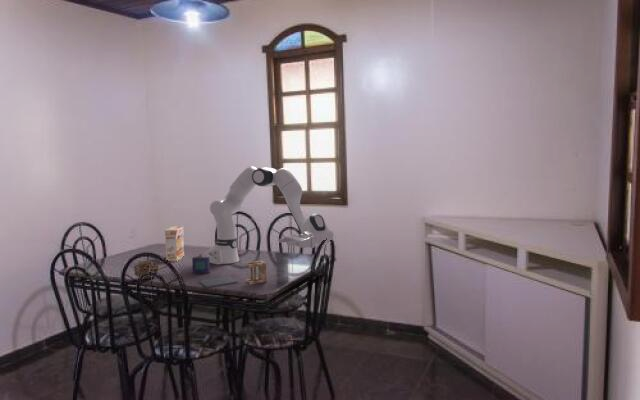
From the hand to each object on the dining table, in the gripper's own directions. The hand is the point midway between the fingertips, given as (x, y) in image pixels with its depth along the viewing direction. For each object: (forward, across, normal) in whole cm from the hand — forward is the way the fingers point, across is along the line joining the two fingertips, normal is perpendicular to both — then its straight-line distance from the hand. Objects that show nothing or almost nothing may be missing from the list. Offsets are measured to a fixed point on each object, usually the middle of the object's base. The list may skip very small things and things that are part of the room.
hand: (283, 242), depth 244 cm
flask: (+34, -33, +18) cm, 51 cm away
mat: (+33, -9, +18) cm, 39 cm away
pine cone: (+58, -38, +18) cm, 72 cm away
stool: (+16, 0, +19) cm, 25 cm away
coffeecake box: (+38, -74, +18) cm, 85 cm away
